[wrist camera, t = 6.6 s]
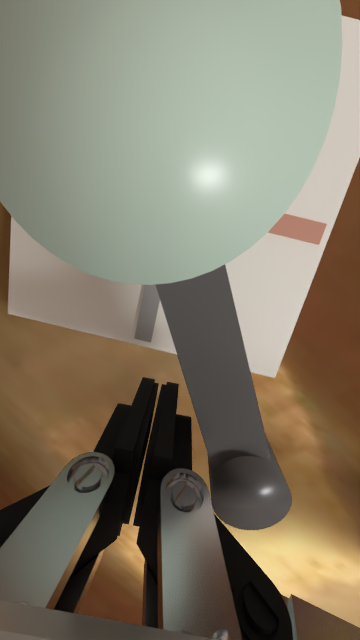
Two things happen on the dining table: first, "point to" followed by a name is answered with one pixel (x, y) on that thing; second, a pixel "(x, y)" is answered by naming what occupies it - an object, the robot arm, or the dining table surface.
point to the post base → (243, 272)
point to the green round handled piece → (172, 173)
